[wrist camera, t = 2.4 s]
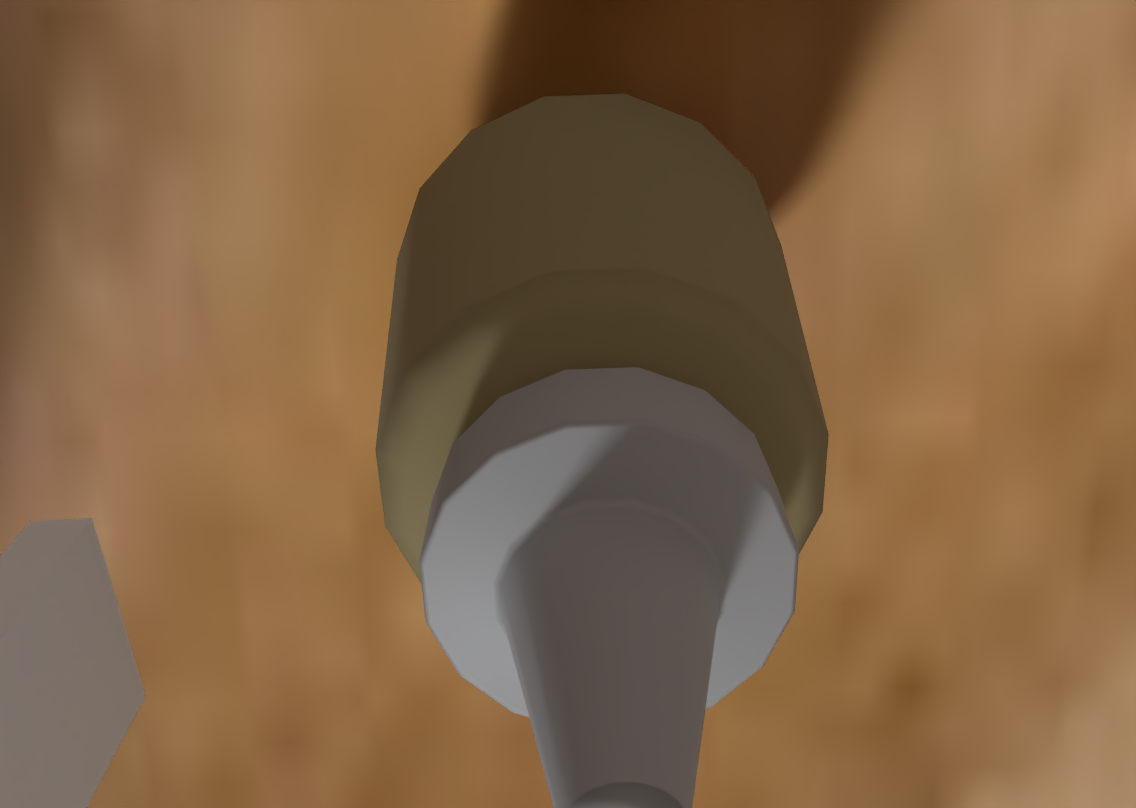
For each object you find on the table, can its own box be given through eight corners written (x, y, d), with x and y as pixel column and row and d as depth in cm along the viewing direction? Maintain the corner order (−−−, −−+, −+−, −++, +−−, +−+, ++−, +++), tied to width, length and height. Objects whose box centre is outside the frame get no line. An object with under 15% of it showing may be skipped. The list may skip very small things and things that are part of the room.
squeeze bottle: (436, 33, 24) (176, 362, 8) (792, 93, 25) (1233, 513, 8) (402, 364, 28) (172, 1064, 11) (714, 409, 28) (919, 1136, 12)
